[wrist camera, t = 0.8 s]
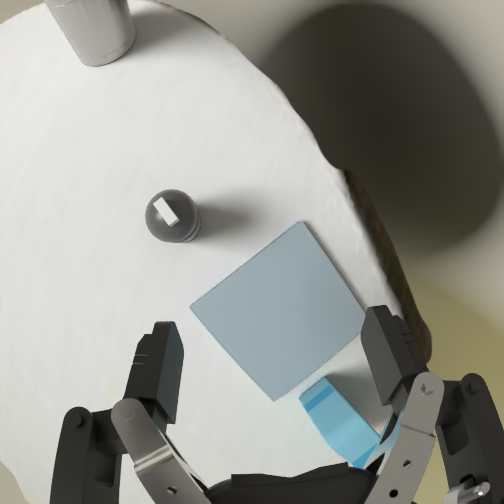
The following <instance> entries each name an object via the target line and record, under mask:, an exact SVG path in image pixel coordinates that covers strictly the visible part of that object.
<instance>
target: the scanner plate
mask: <svg viewBox="0 0 504 504" xmlns="http://www.w3.org/2000/svg"><path fill="white" fill-rule="evenodd" d="M190 309H191V311H192V312H193V313H194V314H195V316H196V317H197V318H198V319H199V320H200V322H201V323H202V324H203V325H204V326H205V327H206V329H207V330H208V331H209V332H210V333H211V334H212V336H213V337H214V338H215V339H216V340H217V341H218V343H219V344H220V345H221V346H222V347H223V348H224V349H225V350H226V352H227V353H228V354H229V355H230V356H231V357H232V358H233V359H234V360H235V362H236V363H237V364H238V365H239V366H240V367H241V368H242V369H243V370H244V371H245V372H246V374H247V375H248V376H249V377H250V378H251V379H252V380H253V381H254V382H255V383H256V384H257V385H258V386H259V387H260V388H261V389H262V390H263V391H264V392H265V393H266V394H267V395H268V396H269V398H270V399H271V400H272V401H273V402H274V401H276V400H277V399H278V398H280V397H281V396H283V395H284V394H285V393H287V392H288V391H289V390H291V389H292V388H293V387H295V386H296V385H297V384H299V383H300V382H301V381H303V380H304V379H305V378H306V377H308V376H309V375H310V374H311V373H313V372H314V371H315V370H316V369H318V368H319V367H320V366H321V365H323V364H324V363H325V362H326V361H327V360H329V359H330V358H331V357H332V356H333V355H335V354H336V353H337V352H338V351H339V350H340V349H342V348H343V347H344V346H345V345H346V344H347V343H348V342H349V341H351V340H352V339H353V338H354V337H355V336H356V335H357V334H358V333H359V332H360V331H361V329H362V326H363V323H364V319H365V316H366V315H365V313H364V311H363V310H362V308H361V307H360V305H359V304H358V302H357V300H356V299H355V297H354V296H353V294H352V293H351V291H350V290H349V288H348V287H347V285H346V284H345V282H344V281H343V279H342V278H341V276H340V275H339V273H338V272H337V270H336V269H335V267H334V266H333V264H332V263H331V261H330V260H329V258H328V257H327V255H326V254H325V253H324V251H323V250H322V248H321V247H320V245H319V244H318V243H317V241H316V240H315V238H314V237H313V235H312V234H311V233H310V231H309V230H308V228H307V227H306V226H305V224H304V223H303V221H298V222H297V223H296V224H294V225H293V226H292V227H290V228H289V229H288V230H287V231H285V232H284V233H283V234H281V235H280V236H279V237H278V238H276V239H275V240H274V241H273V242H271V243H270V244H269V245H267V246H266V247H265V248H264V249H262V250H261V251H260V252H258V253H257V254H256V255H255V256H253V257H252V258H251V259H249V260H248V261H247V262H246V263H244V264H243V265H242V266H240V267H239V268H238V269H237V270H235V271H234V272H233V273H232V274H230V275H229V276H228V277H226V278H225V279H224V280H223V281H221V282H220V283H219V284H217V285H216V286H215V287H214V288H212V289H211V290H210V291H208V292H207V293H206V294H204V295H203V296H202V297H201V298H199V299H198V300H197V301H195V302H194V303H193V304H192V305H190Z"/></svg>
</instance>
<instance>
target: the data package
mask: <svg viewBox="0 0 504 504" xmlns="http://www.w3.org/2000/svg"><path fill="white" fill-rule="evenodd" d="M299 400H300V402H301V403H302V405H303V407H304V408H305V410H306V411H307V413H308V415H309V416H310V418H311V419H312V421H313V423H314V424H315V426H316V427H317V429H318V430H319V432H320V434H321V435H322V437H323V438H324V440H325V441H326V442H327V444H328V445H329V446H330V447H331V448H332V449H333V450H334V451H335V452H337V453H338V454H339V455H340V456H342V457H343V458H344V459H345V460H347V461H348V462H349V463H350V464H352V465H353V466H354V467H358V468H361V469H363V467H364V465H365V463H366V461H367V460H368V458H369V456H370V455H371V453H372V452H373V451H374V449H375V447H376V446H377V443H378V441H379V439H380V437H381V436H380V435H379V434H378V433H377V432H376V431H375V430H374V429H373V428H372V427H371V426H370V424H369V423H368V422H367V421H366V420H365V419H364V418H363V417H362V416H361V415H360V414H359V413H358V412H357V411H356V409H355V408H354V407H353V406H352V405H351V404H350V403H349V402H348V401H347V400H346V399H345V398H344V397H343V396H342V395H341V393H340V392H339V391H338V390H337V389H336V388H335V387H334V386H333V385H332V384H331V383H330V382H329V380H328V379H327V378H326V377H323V378H322V379H321V380H319V381H318V382H317V383H316V384H315V385H313V386H312V387H311V388H310V389H309V390H307V391H306V392H305V393H304V394H302V395H301V396H300V397H299Z"/></svg>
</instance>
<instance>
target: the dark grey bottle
mask: <svg viewBox="0 0 504 504" xmlns="http://www.w3.org/2000/svg"><path fill="white" fill-rule="evenodd" d="M145 219H146V224H147V227H148V229H149V231H150V232H151V233H152V234H153V235H154V236H155V237H156V238H158V239H159V240H161V241H164V242H173V243H185V242H189V241H191V240H192V239H194V238H195V237H196V235H197V234H198V232H199V230H200V226H201V221H200V217H199V214H198V211H197V208H196V205H195V203H194V201H193V200H192V199H191V198H190V197H189V196H188V195H187V194H186V193H184V192H182V191H179V190H173V189H171V190H165V191H162V192H160V193H158V194H156V195H155V196H154V197H153V198H152V199H151V201H150V202H149V204H148V206H147V209H146V214H145Z"/></svg>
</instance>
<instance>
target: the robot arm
mask: <svg viewBox="0 0 504 504" xmlns="http://www.w3.org/2000/svg"><path fill="white" fill-rule="evenodd" d="M44 2H45V4H46V5H47V7H48V9H49V10H50V12H51V14H52V15H53V17H54V19H55V20H56V22H57V23H58V25H59V27H60V28H61V30H62V32H63V33H64V35H65V36H66V38H67V40H68V41H69V43H70V44H71V46H72V48H73V49H74V51H75V52H76V54H77V55H78V57H79V58H80V60H81V62H82V63H84V64H85V65H88V66H101V65H104V64H108V63H110V62H112V61H114V60H116V59H118V58H119V57H121V56H122V55H123V54H125V53H126V52H127V51H128V50H129V49H130V47H131V46H132V45H133V43H134V41H135V38H136V31H135V28H134V24H133V21H132V17H131V13H130V10H129V6H128V3H127V0H44ZM361 342H362V346H363V349H364V351H365V354H366V357H367V360H368V363H369V366H370V368H371V371H372V374H373V377H374V380H375V383H376V386H377V390H378V393H379V396H380V399H381V402H382V405H383V406H386V405H389V404H391V405H392V408H393V410H392V412H391V414H390V416H389V419H388V421H387V424H386V426H385V428H384V430H383V433H382V435H381V437H380V439H379V441H378V443H377V446H376V447H375V449H374V451H373V452H372V453H371V455H370V456H369V458H368V460H367V461H366V463H365V465H364V467H363V469H361V468H358V467H348V462H344V463H340V464H334V465H329V466H323V467H319V468H316V469H314V470H311V471H309V472H306V473H303V474H301V475H298V476H295V477H280V476H273V475H267V474H231V479H228V480H225V481H222V482H219V483H217V484H215V485H213V486H212V487H210V488H208V486H207V485H206V484H205V483H204V482H203V480H202V479H201V478H200V477H199V476H198V474H197V473H196V472H195V471H194V470H193V469H192V468H191V467H190V465H189V464H188V463H187V461H186V460H185V459H184V457H183V456H182V455H181V453H180V452H179V451H178V449H177V448H176V446H175V445H174V444H173V442H172V441H171V439H170V438H169V436H168V435H167V434H166V428H167V424H175V421H176V412H177V404H178V396H179V388H180V380H181V373H182V366H183V359H184V349H183V344H182V341H181V338H180V335H179V333H178V330H177V327H176V324H175V322H174V321H165V322H156V323H155V325H154V328H153V332H152V334H145V335H144V336H143V338H142V339H141V340H140V341H139V343H138V345H137V348H136V352H135V356H134V359H133V365H132V367H131V371H130V374H129V378H128V382H127V386H126V390H125V394H124V397H123V399H122V400H120V401H119V402H117V403H116V404H115V405H114V407H113V408H112V409H109V410H104V411H98V412H92V413H90V412H89V411H88V410H87V409H86V408H83V407H74V408H72V409H70V410H69V411H68V412H67V413H66V415H65V417H64V420H63V424H62V429H61V433H60V438H59V443H58V448H57V454H56V459H55V465H54V471H53V478H52V486H51V494H50V504H119V487H120V473H121V462H122V454H128V453H129V455H130V457H131V458H132V460H133V462H134V464H135V466H134V470H135V472H136V474H137V476H138V478H139V479H140V481H141V483H142V484H143V486H144V487H145V489H146V490H147V492H148V493H149V495H150V496H151V498H152V499H153V501H154V502H155V504H417V503H415V502H414V501H412V500H413V498H414V496H415V494H416V491H417V489H418V487H419V485H420V482H421V480H422V477H423V475H424V472H425V470H426V467H427V465H428V462H429V459H430V456H431V454H432V451H433V448H434V444H435V441H436V438H435V436H434V435H433V430H434V427H435V430H436V433H437V437H438V441H439V444H440V449H441V453H442V457H443V461H444V465H445V470H446V475H447V480H448V485H449V491H448V492H447V494H446V496H445V498H444V500H443V502H442V504H504V430H503V427H502V424H501V421H500V419H499V416H498V413H497V410H496V407H495V405H494V402H493V400H492V397H491V395H490V392H489V390H488V387H487V385H486V383H485V381H484V379H483V378H482V377H481V376H479V375H478V374H475V373H470V374H467V375H466V376H464V377H463V379H462V380H461V381H444V380H441V378H440V377H439V376H438V375H436V374H434V373H432V372H430V371H429V370H428V368H427V366H426V364H425V361H424V359H423V357H422V355H421V353H420V351H419V349H418V347H417V345H416V343H415V342H414V339H413V337H412V335H411V334H410V331H409V329H408V327H407V325H406V323H405V322H404V321H403V320H402V319H401V318H400V317H399V316H398V315H395V316H392V314H391V312H390V310H389V308H388V307H387V306H386V305H380V306H373V307H369V308H368V309H367V313H366V316H365V319H364V323H363V326H362V329H361Z"/></svg>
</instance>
